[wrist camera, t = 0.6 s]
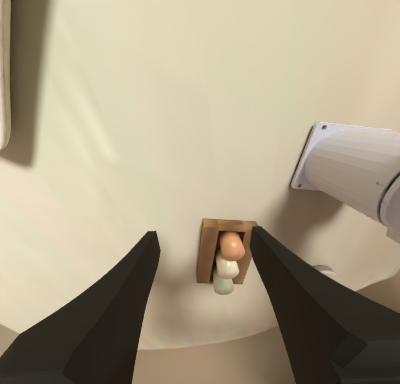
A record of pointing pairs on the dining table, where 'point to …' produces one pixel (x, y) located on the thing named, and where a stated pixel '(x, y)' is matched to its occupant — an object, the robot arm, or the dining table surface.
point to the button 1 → (222, 283)
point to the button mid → (226, 267)
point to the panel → (209, 245)
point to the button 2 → (231, 245)
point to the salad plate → (5, 73)
